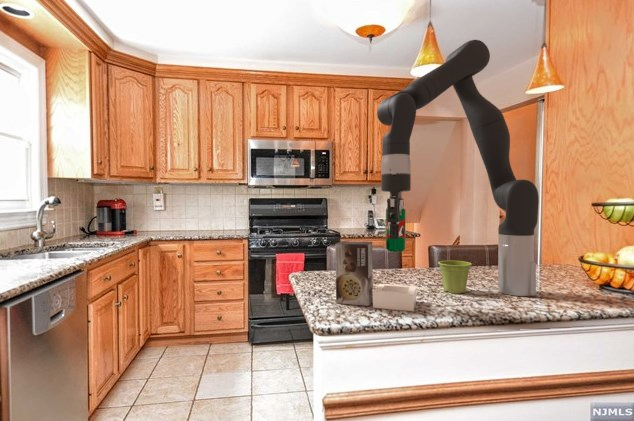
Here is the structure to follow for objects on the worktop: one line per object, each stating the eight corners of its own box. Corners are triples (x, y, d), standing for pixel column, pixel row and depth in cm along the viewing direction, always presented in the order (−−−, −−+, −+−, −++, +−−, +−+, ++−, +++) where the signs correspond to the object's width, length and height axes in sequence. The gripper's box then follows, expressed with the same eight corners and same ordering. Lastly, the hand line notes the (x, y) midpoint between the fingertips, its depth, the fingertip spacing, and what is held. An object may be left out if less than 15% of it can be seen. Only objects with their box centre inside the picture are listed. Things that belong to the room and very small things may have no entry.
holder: (416, 301, 98) (416, 286, 98) (413, 311, 88) (413, 295, 88) (379, 297, 101) (379, 283, 101) (372, 307, 92) (372, 291, 92)
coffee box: (373, 300, 99) (373, 241, 98) (369, 306, 93) (369, 243, 92) (341, 297, 102) (341, 240, 101) (334, 303, 96) (334, 242, 95)
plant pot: (438, 294, 106) (438, 264, 105) (437, 287, 115) (437, 259, 114) (473, 296, 103) (473, 266, 103) (469, 289, 112) (469, 261, 112)
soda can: (405, 250, 97) (405, 205, 96) (405, 252, 92) (406, 205, 91) (385, 249, 98) (385, 205, 97) (385, 251, 93) (385, 205, 92)
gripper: (385, 175, 102) (385, 235, 103) (376, 171, 89) (376, 240, 89) (412, 175, 100) (412, 236, 100) (408, 170, 86) (407, 241, 87)
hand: (395, 237), depth 95 cm, fingers closed on soda can, 5 cm apart
